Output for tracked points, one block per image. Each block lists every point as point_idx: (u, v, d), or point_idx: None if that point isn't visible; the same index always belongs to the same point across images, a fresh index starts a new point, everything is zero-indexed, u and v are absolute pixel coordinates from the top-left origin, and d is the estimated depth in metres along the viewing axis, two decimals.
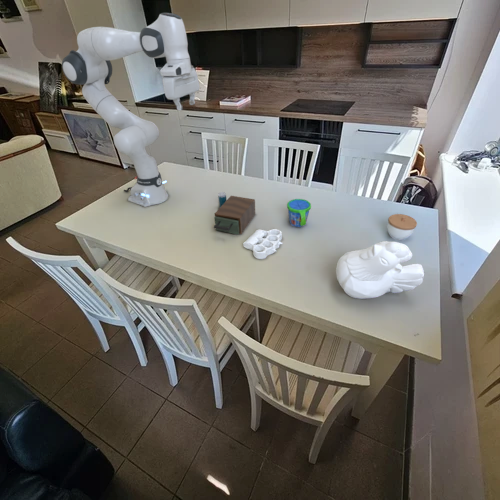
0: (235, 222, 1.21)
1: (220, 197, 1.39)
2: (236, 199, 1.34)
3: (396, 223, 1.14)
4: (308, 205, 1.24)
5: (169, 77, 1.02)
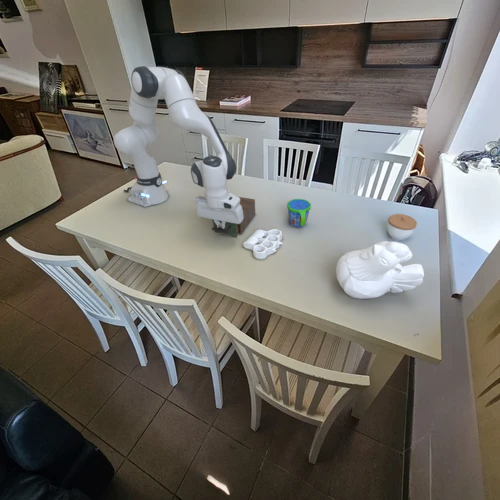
0: (233, 224, 1.20)
1: None
2: None
3: (396, 223, 1.14)
4: (308, 205, 1.24)
5: (237, 205, 1.09)
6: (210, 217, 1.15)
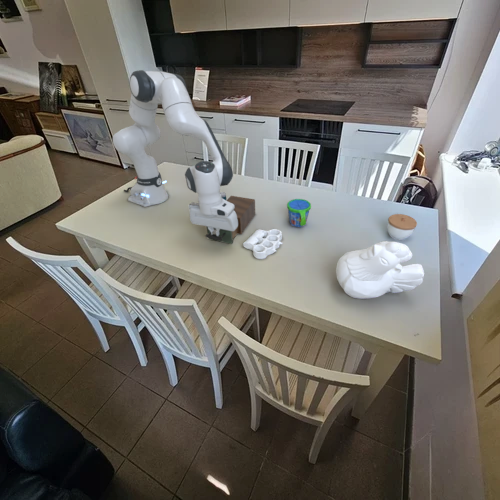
0: (228, 231, 1.16)
1: None
2: (236, 199, 1.34)
3: (396, 223, 1.14)
4: (308, 205, 1.24)
5: (231, 212, 1.06)
6: (204, 224, 1.12)
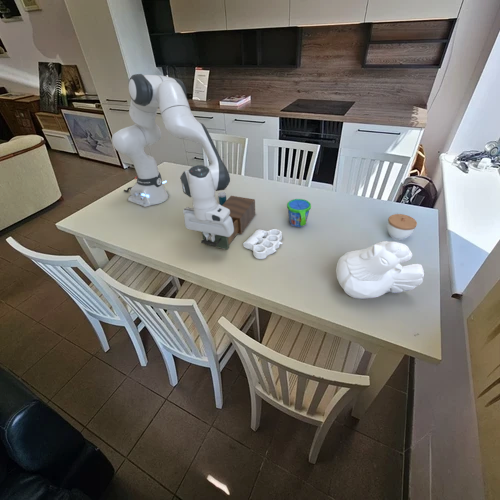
0: (224, 237, 1.13)
1: (220, 197, 1.39)
2: (236, 199, 1.34)
3: (396, 223, 1.14)
4: (308, 205, 1.24)
5: (227, 217, 1.03)
6: (199, 229, 1.09)
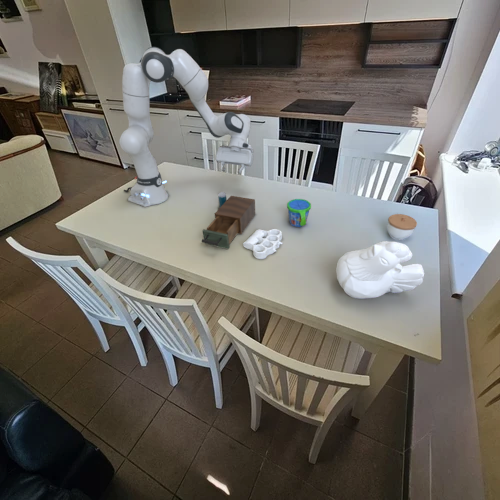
0: (224, 236, 1.13)
1: (220, 197, 1.39)
2: (236, 199, 1.34)
3: (396, 223, 1.14)
4: (308, 205, 1.24)
5: (251, 152, 1.43)
6: (226, 159, 1.44)
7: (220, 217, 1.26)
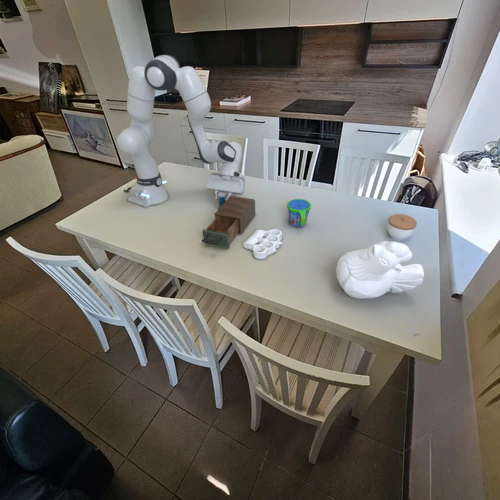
0: (224, 236, 1.13)
1: (220, 197, 1.39)
2: (236, 199, 1.34)
3: (396, 223, 1.14)
4: (308, 205, 1.24)
5: (243, 180, 1.40)
6: (217, 187, 1.41)
7: (220, 217, 1.26)
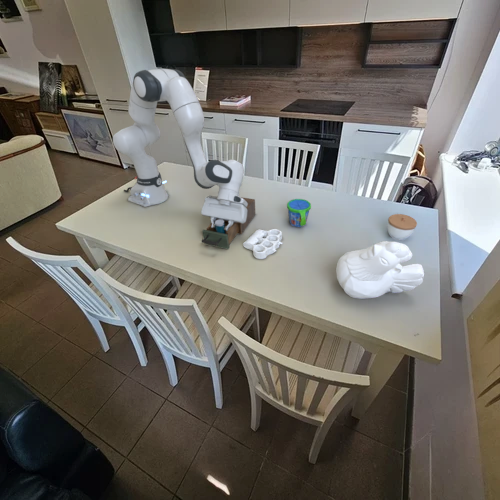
0: (224, 236, 1.13)
1: (217, 226, 1.16)
2: None
3: (396, 223, 1.14)
4: (308, 205, 1.24)
5: (244, 206, 1.17)
6: (213, 214, 1.18)
7: None
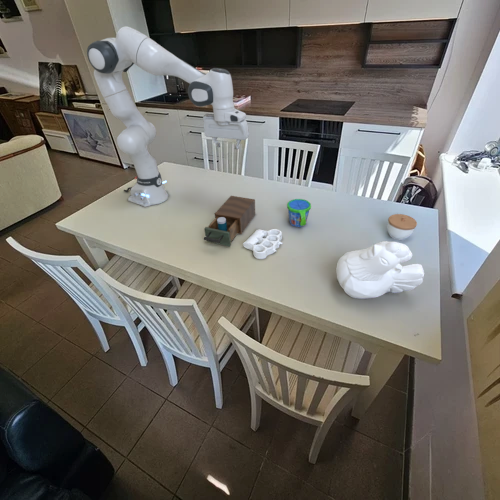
0: (226, 234, 1.14)
1: (219, 223, 1.17)
2: (236, 199, 1.34)
3: (396, 223, 1.14)
4: (308, 205, 1.24)
5: (243, 120, 1.15)
6: (217, 135, 1.21)
7: None
